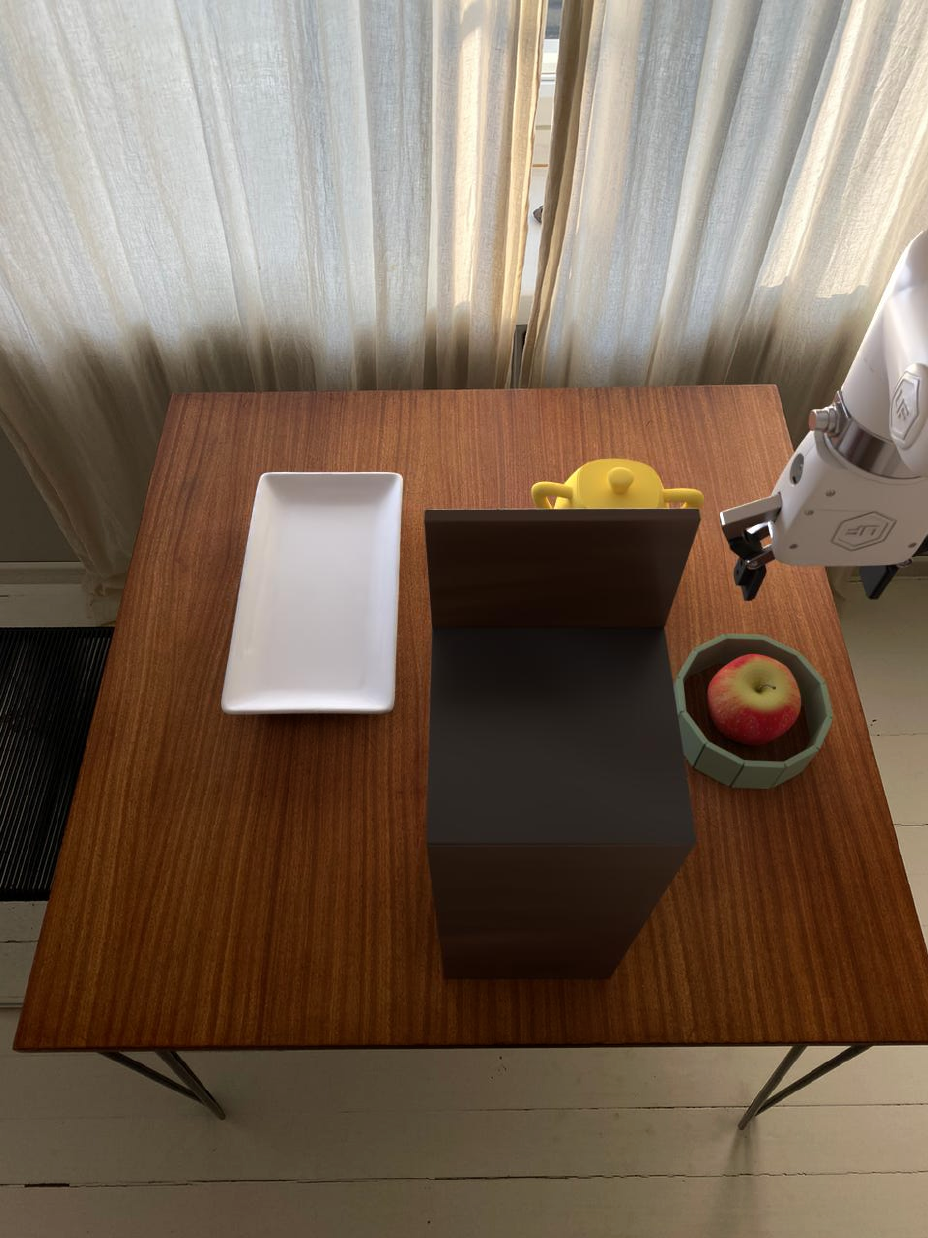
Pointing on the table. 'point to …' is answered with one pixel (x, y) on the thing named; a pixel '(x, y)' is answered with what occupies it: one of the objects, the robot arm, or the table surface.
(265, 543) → the tray
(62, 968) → the table surface
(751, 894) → the table surface
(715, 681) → the apple
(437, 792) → the stand
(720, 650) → the faceted green band
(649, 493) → the yellow two-handled pot
